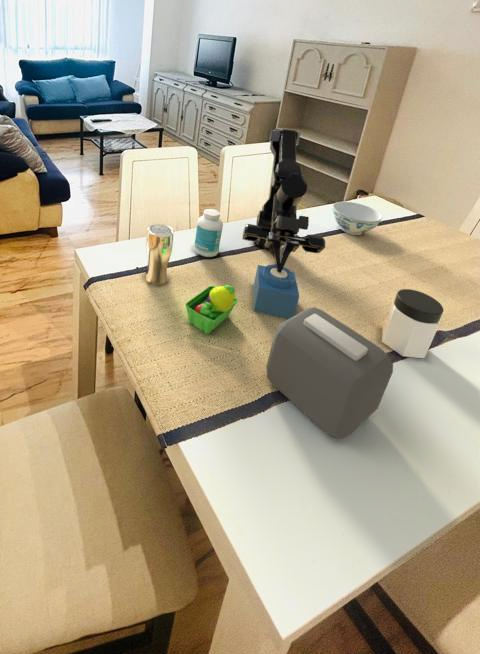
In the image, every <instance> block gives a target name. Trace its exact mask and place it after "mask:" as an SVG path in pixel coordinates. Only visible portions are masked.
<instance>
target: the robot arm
mask: <svg viewBox="0 0 480 654" xmlns="http://www.w3.org/2000/svg"><path fill="white" fill-rule="evenodd" d="M300 138H301V133H300V132H298V130H296V129H290V128H289V129H288V128H276V127H275V128H274V129H272V130H271V131H270V132H269V139H268V142H269V143H270V144H269V150H270V152H271V153H272V155H273V162H272V168H271V169H272V170H271V176H270V185H269V192H268V199H267V200H266V202H265V203H264V204H263V205H262V207H261V210H259V212H258V213H257V215H256V216H257V217H256V223H255V224H252V223H246V225H245V226H244V228H243V232H242V238H241V239H242V240H244V241H248V242H252V243H253V245H254V246H256V247H259V248H262V249H263V250H266V251H269V252H270V254H271V257H272V259H273V262H274V265H275V266H276V269H277V272H281V271H282V269H283V267H285V265H286V263H287V261H288V259H289V256H290V255H291V253H295V252H296V251H297V250H298V249H299V248H300V246H301V248H302V250H304V252H307V253H312V254H320V253H321V252H322V251H324V250H325V249H326V240H325V238H324V237H323V236H319V235H313V234H307V235H306V236H305V237H299V236H297V235H298V233H299V232H300V230H303V231H304V230H306V231H307V230H308V229H309V228H308V227H309V224H310V223H309V222H310V221H309V220H310V219H309V216H305V215H299V216H297V212H298V211H297V209H298V205H299V204H300V202H301V201H302V199H303V197H305V195H306V193H307V191H308V183H307V181H306V179H305V175H303V171H302V167H301V165H299V164H298V163H297V146H299V143H300ZM282 243H284V245H283V247H282V249H281V244H282Z"/></svg>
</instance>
